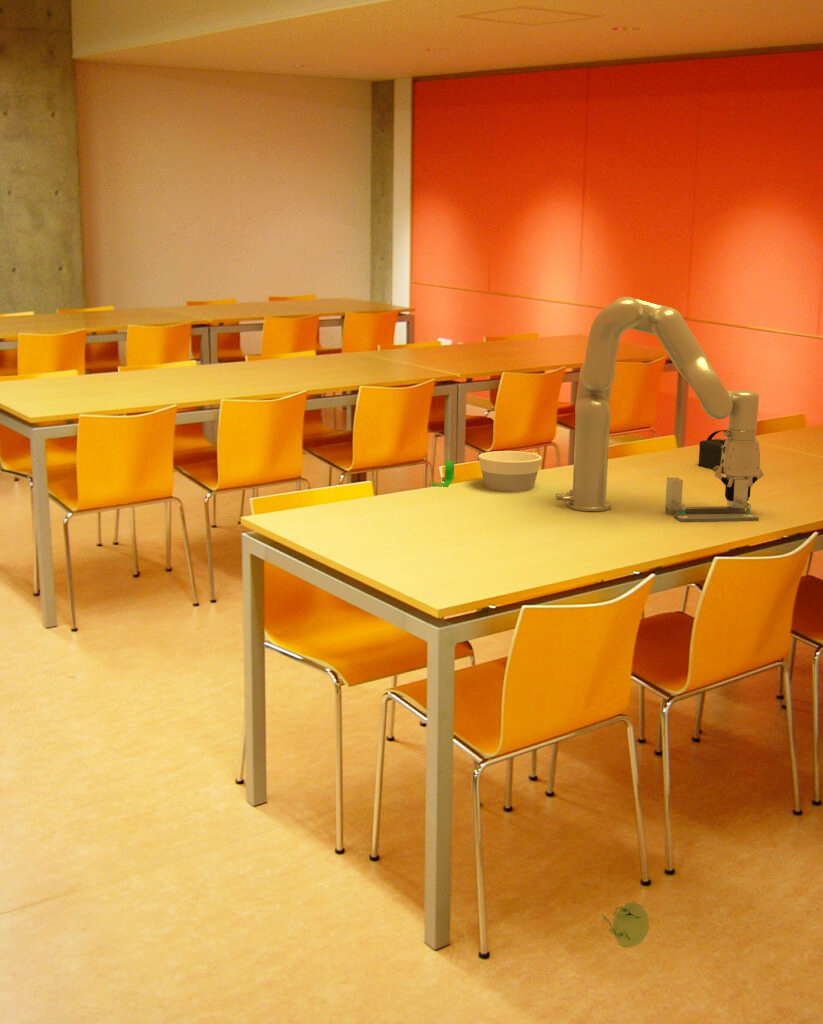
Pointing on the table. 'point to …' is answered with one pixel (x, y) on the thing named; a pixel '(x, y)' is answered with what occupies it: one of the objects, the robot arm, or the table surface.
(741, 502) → the sliding leg
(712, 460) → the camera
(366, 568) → the table surface
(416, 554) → the table surface
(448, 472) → the mechanical part
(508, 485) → the bowl
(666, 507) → the rail with fixed leg
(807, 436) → the table surface
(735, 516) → the gauge plate
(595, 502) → the robot arm
